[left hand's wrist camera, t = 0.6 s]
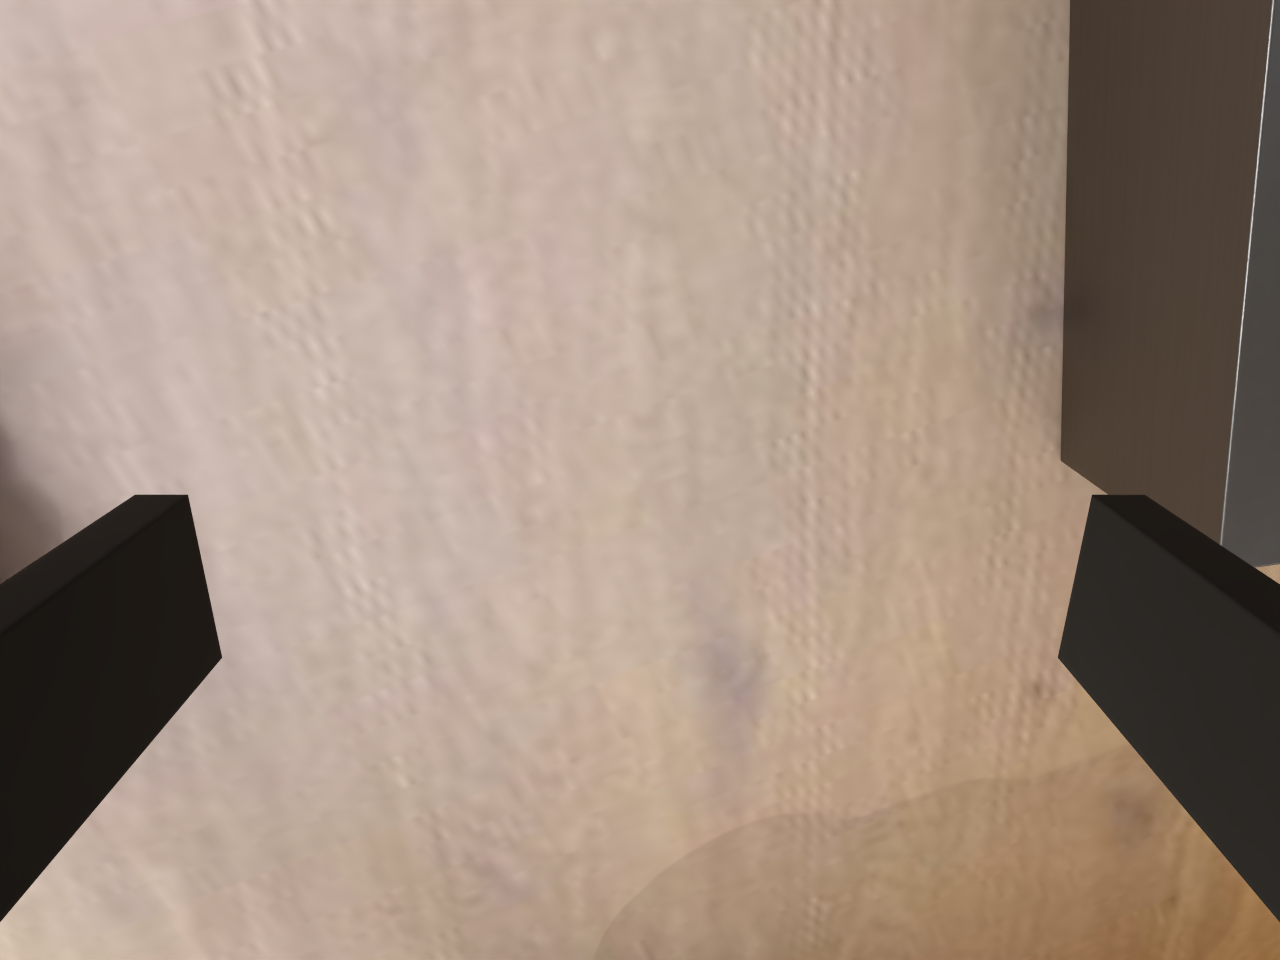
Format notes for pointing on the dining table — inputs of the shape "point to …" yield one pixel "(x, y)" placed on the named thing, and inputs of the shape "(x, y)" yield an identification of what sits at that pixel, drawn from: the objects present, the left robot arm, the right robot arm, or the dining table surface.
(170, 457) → the dining table surface
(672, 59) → the dining table surface
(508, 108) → the dining table surface
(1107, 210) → the box
